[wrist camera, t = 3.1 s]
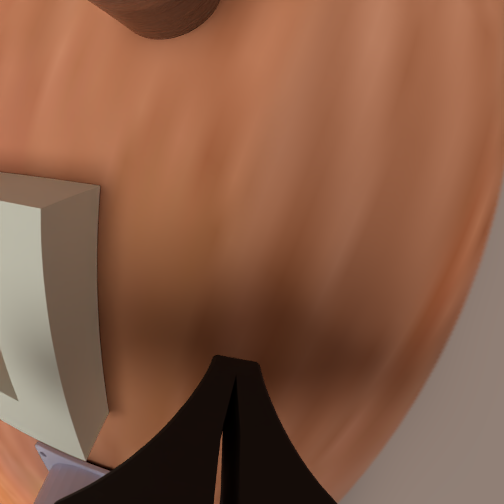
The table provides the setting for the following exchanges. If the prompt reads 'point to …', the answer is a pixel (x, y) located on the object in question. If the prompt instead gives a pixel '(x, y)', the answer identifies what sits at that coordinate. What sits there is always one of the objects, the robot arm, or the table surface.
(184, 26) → the dowel
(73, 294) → the socket block
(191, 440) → the robot arm
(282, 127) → the table surface
